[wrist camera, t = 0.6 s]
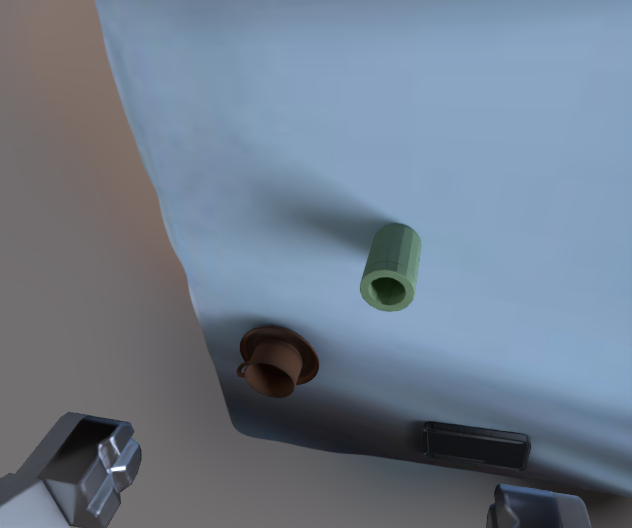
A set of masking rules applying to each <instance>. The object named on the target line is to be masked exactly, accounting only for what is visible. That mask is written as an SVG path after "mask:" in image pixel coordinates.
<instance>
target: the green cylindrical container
mask: <svg viewBox="0 0 632 528" xmlns="http://www.w3.org/2000/svg"><path fill="white" fill-rule="evenodd" d="M420 253H421V240H420V238H419V236H418V234H417V233H416V232H415V231H414V230H413V229H411V228H410V227H408V226H405V225H402V224H389V225H386V226H384V227H382V228H381V229H379V230H378V231H377V233H376V234H375V236H374V238H373V241H372V245H371V248H370V252H369V255H368V259H367V262H366V266H365V269H364V273H363V276H362V280H361V285H360V292H361V294H362V297H363V299H364V300H365V301H366V302H367V303H368V304H369V305H370V306H372V307H374V308H376V309H378V310H382V311H387V312H392V311H400V310H402V309H404V308H406V307H408V306H409V304H410V303H411V302H412V301H413V299H414V294H415V288H416V281H417V274H418V267H419V260H420Z"/></svg>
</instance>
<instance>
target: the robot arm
mask: <svg viewBox="0 0 632 528" xmlns="http://www.w3.org/2000/svg"><path fill="white" fill-rule="evenodd" d="M133 433H134V430H133V428H132V425H131V423H130V422H124V421H118V420H113V419H107V418H101V417H95V416H91V415H86V414H79V413H73V412H68V413H66V414H65V415H63V416H62V417H61V418H60V419H59V420H58V421H57V422H56V424H55V425H54V426H53V427H52V429H51V430H50V431H49V432H48V434H47V435H46V436H45V437H44V439H43V440H42V441H41V442H40V444H39V445H38V446H37V447H36V449H35V450H34V451H33V452H32V454H31V455H30V456H29V457H28V459H27V460H26V461H25V462H24V464H23V465H22V466H21V467H20V469H19V470H18V471H17V472H16V473H15V474H12V473H9V474H7V475H5V476H4V477H2V478H0V528H70V526H75V527H81V528H107V526H108V525H109V523H110V521H111V520H112V518H113V516H114V514H115V513H116V511H117V509H118V507H119V505H120V504H121V499H120V492H122V491H123V490H124V489H126V488H127V487H129V486H130V485H131V484H132V482H133V481H134V479H135V477H136V475H137V473H138V470H139V466H140V463H141V448H140V445H139V444H138V442H136V441H135V440H134V439H133V438H132V437H131V436H132V435H133ZM494 496H495V503H494V504H492V505H490V508H489V511H488V514H487V525H486V528H592V527H591V524H590V520H589V517H588V513H587V510H586V506H585V504H584V502H583V501H582V499H581V498H580V497H578V496H573V495H566V494H560V493H554V492H550V491H545V490H538V489H531V488H524V487H518V486H511V485H505V484H498V485H497V486H496V489H495V492H494Z"/></svg>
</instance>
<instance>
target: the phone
mask: <svg viewBox="0 0 632 528" xmlns="http://www.w3.org/2000/svg"><path fill="white" fill-rule="evenodd" d="M530 449H531V442H530V438H529V437H528V436H526V435H522V434H515V433H508V432H500V431H493V430H486V429H478V428H471V427H464V426H457V425H449V424H442V423H435V422H427V423H425V424H424V428H423V454H424V455H425V456H427V457H430V458H436V459H443V460H449V461H456V462H462V463H468V464H475V465H481V466H487V467H494V468H500V469H506V470H513V471H524V470H525V469H526V466H527V462H528V458H529V454H530Z"/></svg>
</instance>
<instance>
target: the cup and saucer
mask: <svg viewBox="0 0 632 528" xmlns="http://www.w3.org/2000/svg"><path fill="white" fill-rule="evenodd" d="M240 352H241V355H242V357H243V359H244V361H245V362H243V363H242V364H241V365H240V366H239V367H238V368H237V375H238V376H239V377H245V379H246V381H247V383H248V384H249V385H250V386H251V387H252V388H253V389H254V390H256V391H257V392H259V393H261V394H263V395H265V396H269V397H273V398H283V397H287V396H289V395H291V394H292V393H293V391H294V389H295V386H296V385H300V384H304V383H307V382H309V381H311V380H312V379H313V378H314V377H315V376H316V374H317V372H318V369H319V360H318V356H317V354H316V352H315V350H314V348H313V347H312V346H311V345H310V344H309V343H308V342H307V341H306V340H305V339H304V338H303V337H301V336H300V335H298V334H297V333H295V332H293V331H291V330H288V329H285V328H282V327H277V326H261V327H257V328H254V329H252V330H250V331H249V332H247V333H246V334H245V335H244V337H243V338H242V340H241V342H240ZM246 365H247V367H246V369H245V372H244V373H241V369H242V368H243V367H244V366H246Z"/></svg>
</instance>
